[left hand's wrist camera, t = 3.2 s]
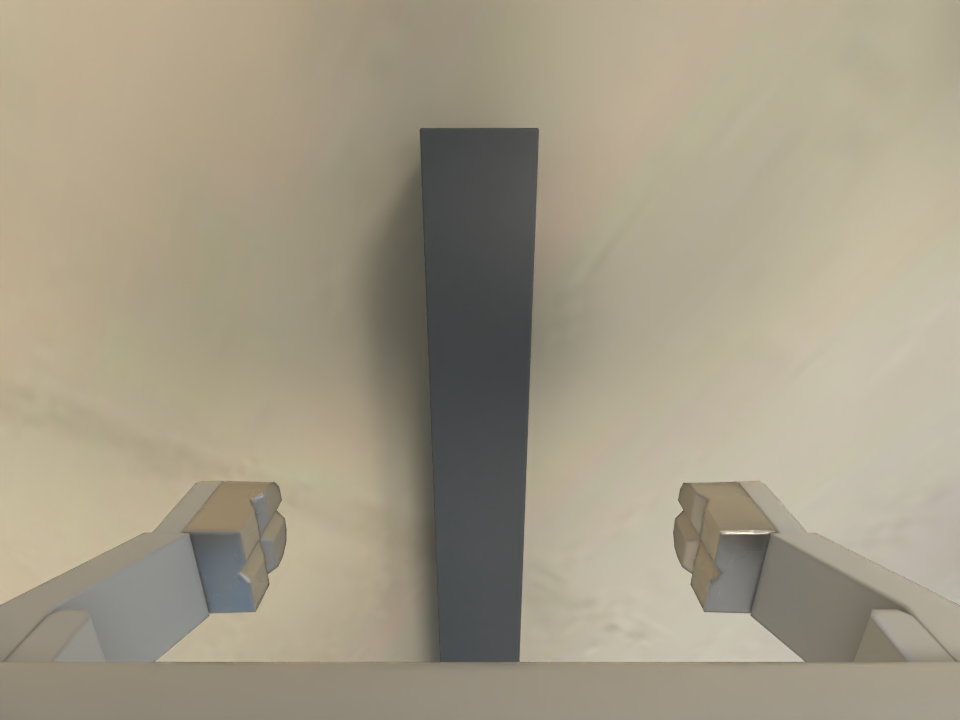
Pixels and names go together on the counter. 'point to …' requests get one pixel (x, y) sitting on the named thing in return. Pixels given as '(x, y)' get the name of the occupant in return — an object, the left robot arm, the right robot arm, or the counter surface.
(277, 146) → the counter surface
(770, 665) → the left robot arm
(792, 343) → the counter surface
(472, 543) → the bar
